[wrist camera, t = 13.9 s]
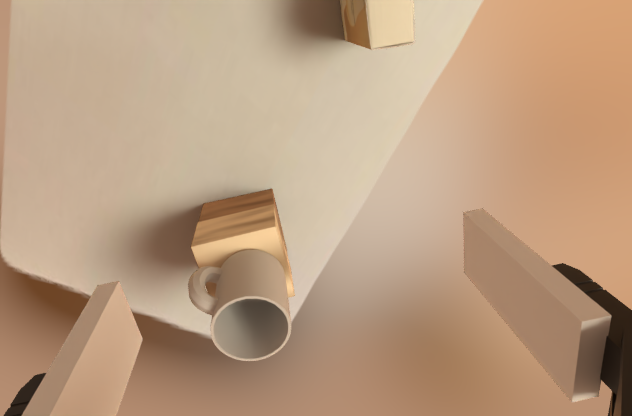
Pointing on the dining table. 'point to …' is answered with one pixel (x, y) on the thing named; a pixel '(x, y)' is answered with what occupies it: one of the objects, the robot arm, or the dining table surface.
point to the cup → (245, 304)
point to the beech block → (240, 240)
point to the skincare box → (378, 22)
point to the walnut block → (239, 206)
